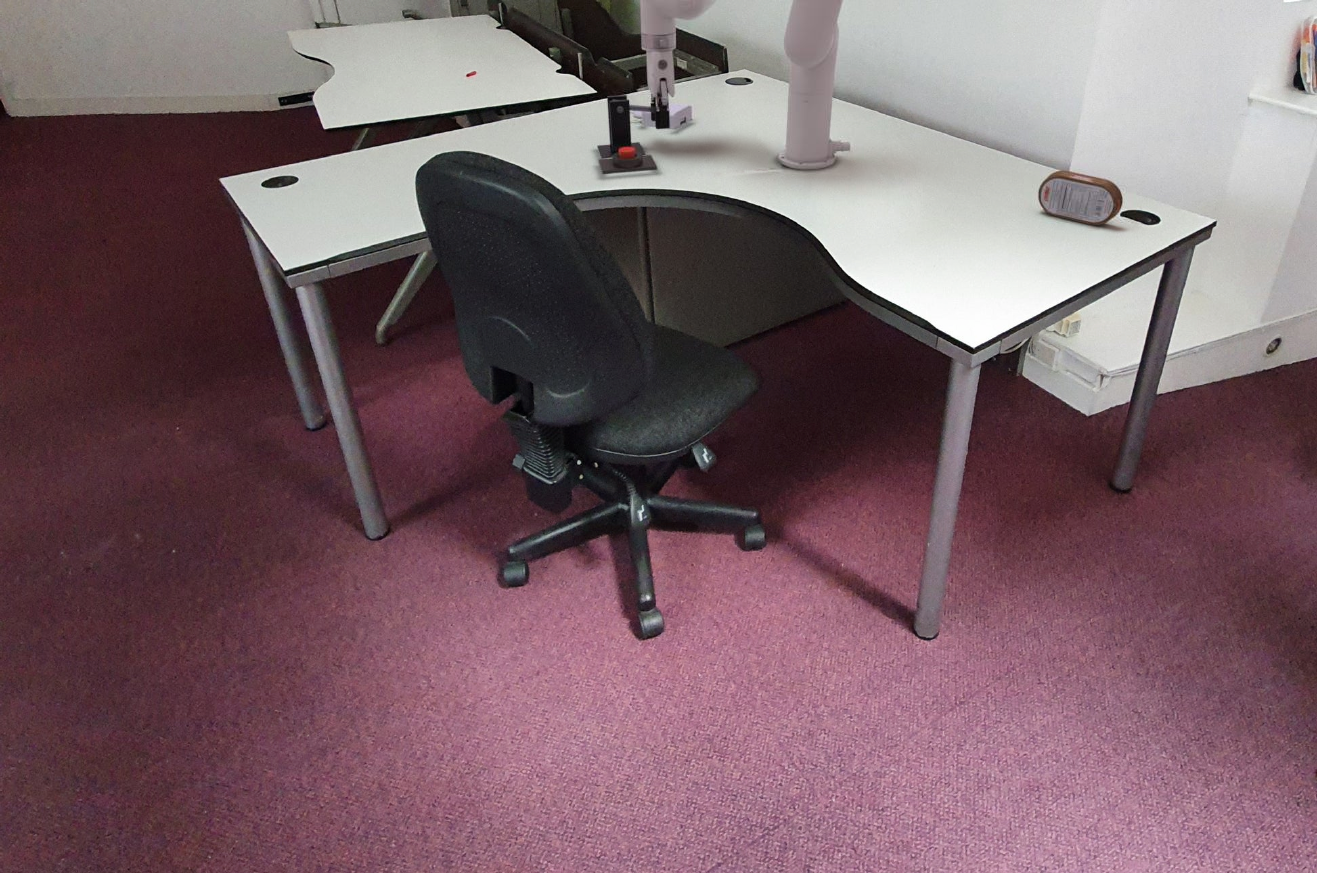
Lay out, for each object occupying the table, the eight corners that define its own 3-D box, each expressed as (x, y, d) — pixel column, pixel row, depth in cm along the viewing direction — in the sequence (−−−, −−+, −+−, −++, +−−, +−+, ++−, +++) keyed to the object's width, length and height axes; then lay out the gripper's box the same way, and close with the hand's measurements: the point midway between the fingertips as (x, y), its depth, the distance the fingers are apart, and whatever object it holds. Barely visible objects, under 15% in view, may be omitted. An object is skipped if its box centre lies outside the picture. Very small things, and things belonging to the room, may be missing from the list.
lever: (662, 112, 217) (663, 102, 215) (666, 119, 212) (667, 108, 211) (610, 108, 214) (611, 97, 213) (613, 114, 210) (614, 103, 208)
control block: (651, 162, 213) (650, 146, 211) (657, 173, 206) (656, 158, 204) (598, 166, 211) (597, 151, 209) (603, 178, 205) (602, 162, 203)
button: (634, 154, 208) (633, 146, 207) (636, 159, 205) (636, 151, 204) (618, 155, 208) (617, 147, 207) (620, 160, 205) (619, 152, 204)
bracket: (639, 147, 222) (637, 91, 215) (645, 159, 215) (643, 101, 207) (597, 150, 221) (593, 94, 214) (602, 162, 214) (598, 105, 206)
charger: (641, 116, 243) (692, 123, 236) (622, 126, 236) (674, 133, 230) (640, 97, 240) (691, 104, 234) (621, 106, 234) (673, 114, 227)
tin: (1117, 226, 175) (1128, 182, 170) (1110, 231, 173) (1122, 186, 168) (1038, 207, 184) (1047, 165, 179) (1032, 212, 182) (1040, 170, 177)
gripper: (682, 48, 199) (683, 134, 209) (668, 31, 212) (669, 112, 223) (647, 50, 198) (650, 137, 208) (635, 33, 212) (638, 115, 222)
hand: (660, 123), depth 215 cm, fingers closed on lever, 5 cm apart
